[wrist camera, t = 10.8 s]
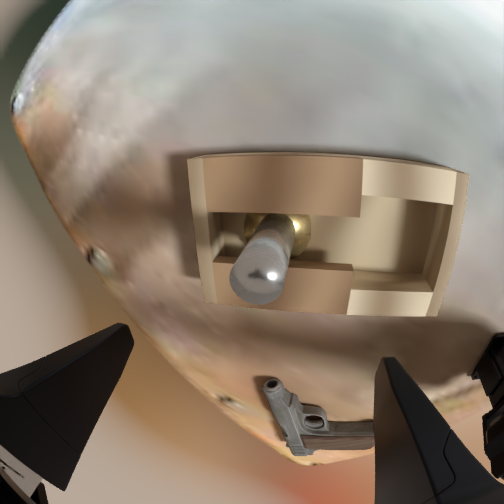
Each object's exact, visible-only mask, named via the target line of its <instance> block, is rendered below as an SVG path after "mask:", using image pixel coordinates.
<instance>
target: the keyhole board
mask: <svg viewBox="0 0 504 504" xmlns="http://www.w3.org/2000/svg"><path fill="white" fill-rule="evenodd" d="M187 165H188V177H189V187H190V198H191V207H192V216H193V225H194V233H195V241H196V249H197V257H198V264H199V271H200V278H201V285H202V291H203V298H204V302H206V303H214V304H223V305H231V306H241V307H250V308H260V309H271V310H283V311H296V312H310V313H326V314H344V315H369V316H437V314H438V311H439V309H440V306H441V303H442V300H443V297H444V294H445V291H446V288H447V284H448V281H449V278H450V274H451V271H452V267H453V263H454V260H455V256H456V252H457V247H458V243H459V238H460V234H461V229H462V224H463V218H464V212H465V206H466V199H467V191H468V183H469V174H466V173H464V172H461V171H458V170H455V169H452V168H450V167H445V166H439V165H433V164H427V163H421V162H414V161H407V160H399V159H391V158H382V157H372V156H361V155H348V154H331V153H306V152H250V153H224V154H208V155H202V156H198V157H194V158H190V159H187ZM247 213H278V214H304V215H309V216H310V219H311V237H310V241H309V243H308V245H307V247H306V248H305V250H304V251H303V252H302V253H301V254H300V255H298V256H297V257H295V258H293V259H290V260H289V264H288V269H287V273H286V277H285V281H284V286H283V290H282V292H281V294H280V296H279V297H278V298H277V299H276V300H274V301H273V302H270V303H268V304H263V305H256V304H251V303H248V302H246V301H244V300H242V299H241V298H239V297H238V296H237V295H236V294H235V292H234V291H233V290H232V288H231V285H230V281H229V275H230V271H231V269H232V267H233V265H234V264H235V262H236V260H237V259H238V257H239V255H240V254H241V252H242V251H243V249H244V247H245V246H246V244H247V240H246V238H245V234H244V221H245V217H246V215H247Z"/></svg>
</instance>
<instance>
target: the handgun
mask: <svg viewBox="0 0 504 504" xmlns="http://www.w3.org/2000/svg"><path fill="white" fill-rule="evenodd" d="M261 390H262V391H263V392H264V393H265V395H266V397H267V400H268V403H269V405H270V407H271V409H272V412H273V414H274V416H275V418H276V420H277V422H278V423H279V425H280V427H281V429H282V433H283V436H284V438H285V440H286V442H287V443H286V447H289V448H290V450H291V452H292V454H293V455H294V456H307V455H313V453H314V451H316V450H319V449H322V450H366V449H370V448H372V447H373V446H374V445H375V441H374V422H332V421H327V416H326V412H325V410H324V409H322V408H319V407H313V406H303V405H302V404H301V403H300V402H299V400H298V397H297V395H296V394H294V393H291V392H289V391H288V390H286V389H285V388H284V386H283V384H282V382H281V381H280V380H279V379H277V378H272V379H269V380H267V381H266V382H265V384H264V385H262V386H261ZM311 415H316V416H320V417H322V418H323V419H322V420H319V421H318V420H312V419H309V418H307V417H306V416H311Z"/></svg>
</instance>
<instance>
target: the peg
mask: <svg viewBox="0 0 504 504" xmlns="http://www.w3.org/2000/svg"><path fill="white" fill-rule="evenodd" d="M244 234H245V238H246V240H247V244H246V246H245V247H244V249H243V251H242V252H241V254H240V255H239V257H238V259H237V260H236V262H235V264H234V265H233V267H232V269H231V271H230V275H229V281H230V285H231V288H232V290H233V291H234V292H235V294H236V295H237V296H238V297H239V298H241V299H242V300H244V301H246V302H248V303H251V304H256V305H263V304H268V303H270V302H273V301H274V300H276V299H277V298H278V297H279V296H280V294H281V292H282V290H283V286H284V281H285V277H286V273H287V269H288V264H289V260H290V259H293V258H295V257H297V256H298V255H300V254H301V253H302V252H303V251H304V250H305V248H306V247H307V245H308V243H309V241H310V237H311V219H310V216H309V215H304V214H278V213H247V215H246V217H245V221H244Z"/></svg>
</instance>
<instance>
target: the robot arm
mask: <svg viewBox="0 0 504 504" xmlns="http://www.w3.org/2000/svg"><path fill="white" fill-rule="evenodd" d="M133 346H134V339H133V337H132V334H131V331H130V329H129V326H128V325H126V324H123V323H116V324H114V325H112V326H110V327H108V328H106V329H103V330H101V331H99V332H97V333H95V334H93V335H90V336H88V337H86V338H84V339H82V340H80V341H77V342H75V343H73V344H71V345H69V346H67V347H64V348H62V349H60V350H58V351H56V352H54V353H52V354H49V355H47V356H46V357H42V358H40V359H38V360H36V361H33V362H32V363H29V364H26V365H23V366H21V367H18V368H16V369H12V370H10V371H7V372H4V373H1V374H0V504H48V500H47V496H46V491H45V486H44V484H43V483H42V482H41V480H42V478H43V479H45V480H46V481H48V482H49V483H51V484H53V485H54V486H56V487H57V488H59V489H61V490H62V491H65V490H66V488H67V486H68V483H69V481H70V479H71V476H72V474H73V472H74V470H75V467H76V465H77V463H78V461H79V459H80V456H81V454H82V452H83V450H84V447H85V446H86V443H87V441H88V439H89V437H90V435H91V433H92V431H93V429H94V427H95V425H96V423H97V421H98V419H99V417H100V415H101V413H102V411H103V409H104V407H105V405H106V403H107V401H108V399H109V398H110V396H111V394H112V392H113V390H114V388H115V386H116V384H117V383H118V381H119V379H120V377H121V375H122V372H123V370H124V368H125V365H126V363H127V360H128V358H129V355H130V353H131V351H132V349H133ZM471 377H472V380H475V379H480V380H481V383H482V385H483V388H484V391H485V393H486V396H489V399H490V402H491V404H492V407H493V409H492V410H491V411H489V412H488V413H486V414H485V415H483V416H482V419H483V423H482V424H483V436H484V450H485V454H486V455H487V456H488V458H489V460H490V461H491V473H492V474H493V475H494V477H495V478H497V479H498V478H500V477H501V478H502V479H503V480H504V334H497V335H495V336H494V337H493V339H492V341H491V343H490V344H489V346H488V348H487V350H486V352H485V354H484V355H483V357H482V359H481V360H480V362H479V364H478V366H477V367H476V369H475V370H474V372H473V374H472V375H471ZM373 420H374V441H375V504H504V484H502V483H500V482H498V481H497V480H496V479H495V478H494V477H493V476H492V475H491V474H490V473H489V472H488V471H487V470H486V469H485V468H484V467H483V466H482V465H481V463H479V461H478V460H477V459H476V458H475V457H474V456H473V455H472V454H471V453H470V451H469V450H468V449H467V448H466V447H465V445H464V444H463V443H462V442H461V440H460V439H459V438H458V437H457V435H456V434H455V433H454V431H453V430H452V429H450V426H449V425H448V423H447V422H446V421H445V419H444V418H443V417H442V415H441V414H440V413H439V412H438V410H437V409H436V408H435V406H434V405H433V404H432V403H431V401H430V400H429V399H428V397H427V396H426V395H425V394H424V392H423V391H422V390H421V389H420V387H419V386H418V385H417V384H416V382H415V381H414V380H413V379H412V377H411V376H410V375H409V374H408V373H407V371H406V370H405V369H404V368H403V366H402V365H401V364H400V363H399V362H398V360H397V359H396V358H395V357H383V358H382V359H381V361H380V364H379V366H378V369H377V371H376V374H375V390H374V418H373Z"/></svg>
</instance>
